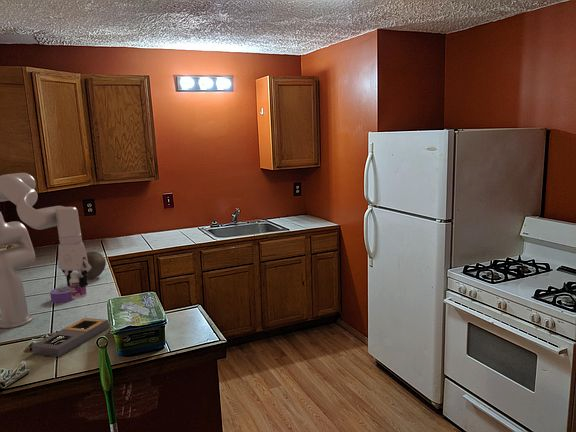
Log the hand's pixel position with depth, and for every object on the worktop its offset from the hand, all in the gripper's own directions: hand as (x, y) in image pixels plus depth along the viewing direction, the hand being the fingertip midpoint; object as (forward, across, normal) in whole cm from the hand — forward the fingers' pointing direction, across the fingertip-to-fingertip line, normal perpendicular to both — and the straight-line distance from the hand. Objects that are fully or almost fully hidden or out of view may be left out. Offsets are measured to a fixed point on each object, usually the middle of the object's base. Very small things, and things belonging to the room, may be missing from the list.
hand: (77, 285), depth 170 cm
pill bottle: (+5, 0, 0) cm, 5 cm away
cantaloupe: (+20, -53, +61) cm, 84 cm away
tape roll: (+20, -42, +30) cm, 56 cm away
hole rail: (+19, 0, -6) cm, 20 cm away
